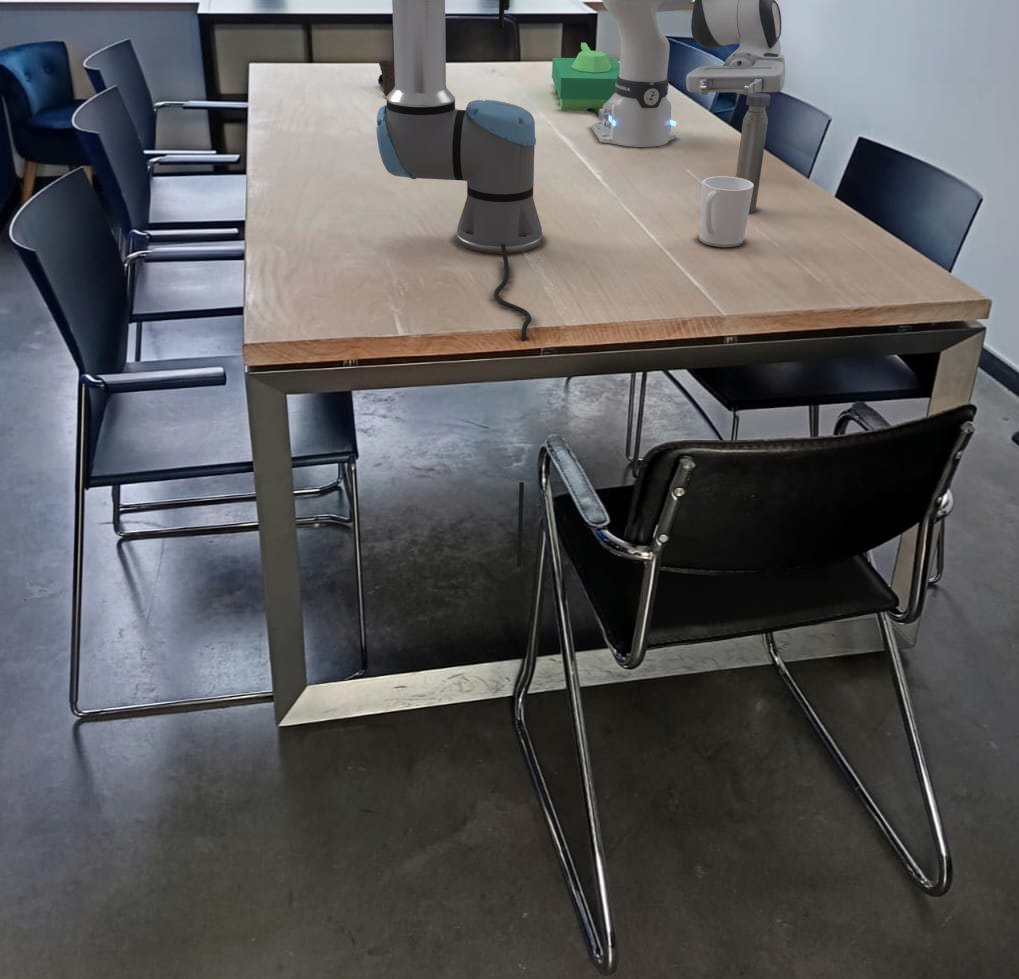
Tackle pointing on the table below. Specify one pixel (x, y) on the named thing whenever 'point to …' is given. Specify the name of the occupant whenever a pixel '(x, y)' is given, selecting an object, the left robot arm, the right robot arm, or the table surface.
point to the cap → (758, 100)
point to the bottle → (752, 149)
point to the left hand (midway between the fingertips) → (468, 26)
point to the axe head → (387, 76)
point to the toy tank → (585, 79)
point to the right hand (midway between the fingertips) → (724, 91)
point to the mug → (724, 210)
